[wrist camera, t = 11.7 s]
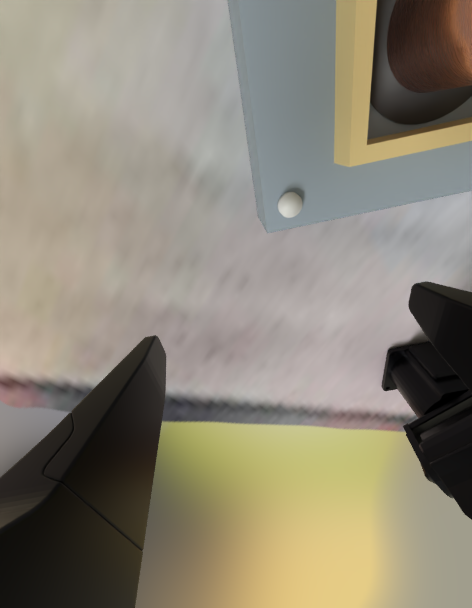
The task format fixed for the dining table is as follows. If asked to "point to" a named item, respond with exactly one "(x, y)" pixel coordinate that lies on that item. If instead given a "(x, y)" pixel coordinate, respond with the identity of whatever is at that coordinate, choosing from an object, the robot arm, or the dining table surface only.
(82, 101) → the dining table surface
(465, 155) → the grey plate with frame
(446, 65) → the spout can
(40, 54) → the dining table surface
